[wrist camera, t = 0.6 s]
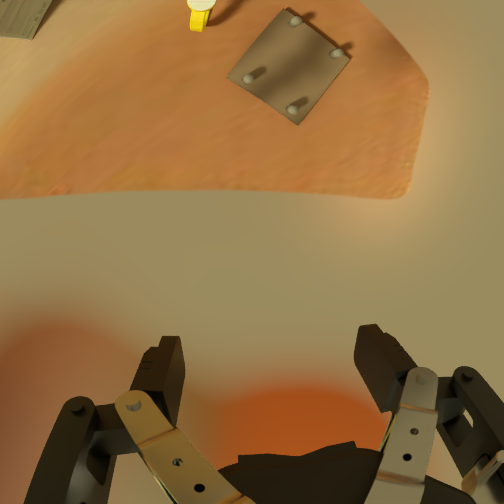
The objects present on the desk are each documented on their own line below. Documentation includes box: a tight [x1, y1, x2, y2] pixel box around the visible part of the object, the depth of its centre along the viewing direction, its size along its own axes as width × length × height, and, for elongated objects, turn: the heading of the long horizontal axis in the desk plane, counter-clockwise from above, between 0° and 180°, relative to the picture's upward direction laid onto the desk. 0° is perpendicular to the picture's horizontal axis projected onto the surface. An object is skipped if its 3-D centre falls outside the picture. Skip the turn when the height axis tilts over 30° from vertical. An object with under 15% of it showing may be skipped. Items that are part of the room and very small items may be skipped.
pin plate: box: [226, 8, 350, 125], centre depth 27 cm, size 10×11×3 cm
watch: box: [187, 0, 216, 32], centre depth 21 cm, size 6×3×6 cm, turn 168°
